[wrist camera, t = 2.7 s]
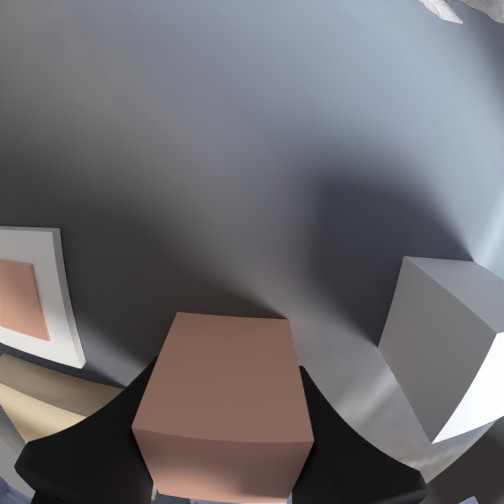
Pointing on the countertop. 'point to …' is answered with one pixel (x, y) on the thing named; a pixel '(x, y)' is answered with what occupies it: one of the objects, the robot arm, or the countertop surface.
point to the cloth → (492, 3)
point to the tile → (36, 296)
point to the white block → (447, 343)
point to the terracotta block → (225, 411)
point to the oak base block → (48, 398)
